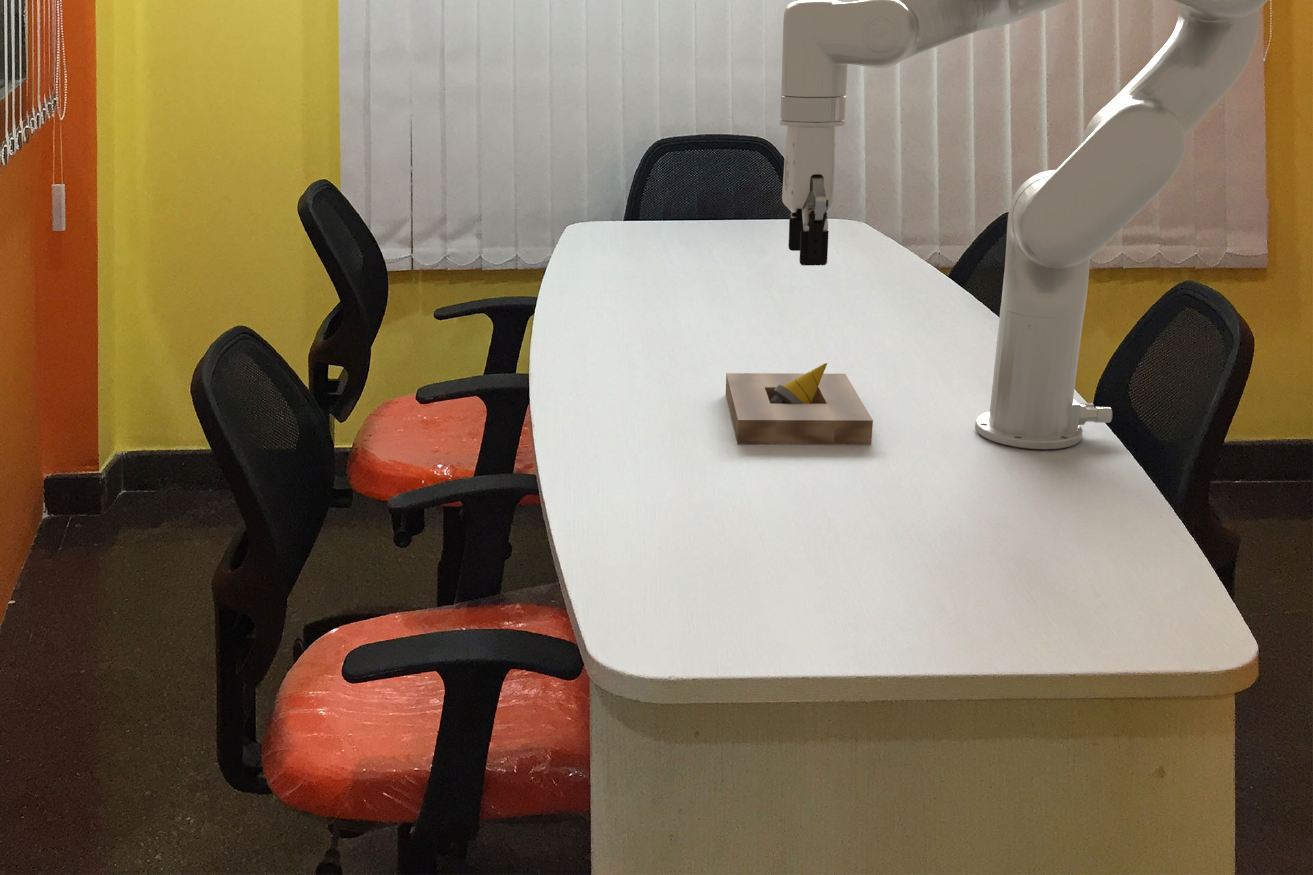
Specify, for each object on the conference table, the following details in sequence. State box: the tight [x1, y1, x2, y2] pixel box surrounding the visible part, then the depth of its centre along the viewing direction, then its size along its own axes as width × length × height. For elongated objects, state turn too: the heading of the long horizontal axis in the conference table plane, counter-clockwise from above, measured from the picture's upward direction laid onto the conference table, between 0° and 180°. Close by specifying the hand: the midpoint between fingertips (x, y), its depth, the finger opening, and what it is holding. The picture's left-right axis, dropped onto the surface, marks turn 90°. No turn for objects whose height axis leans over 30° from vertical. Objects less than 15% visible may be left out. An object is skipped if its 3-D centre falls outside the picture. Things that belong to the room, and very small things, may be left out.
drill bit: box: [770, 362, 828, 404], centre depth 152 cm, size 5×5×10 cm
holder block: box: [725, 372, 874, 445], centre depth 152 cm, size 16×20×3 cm
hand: (807, 257), depth 146 cm, fingers open, 9 cm apart
